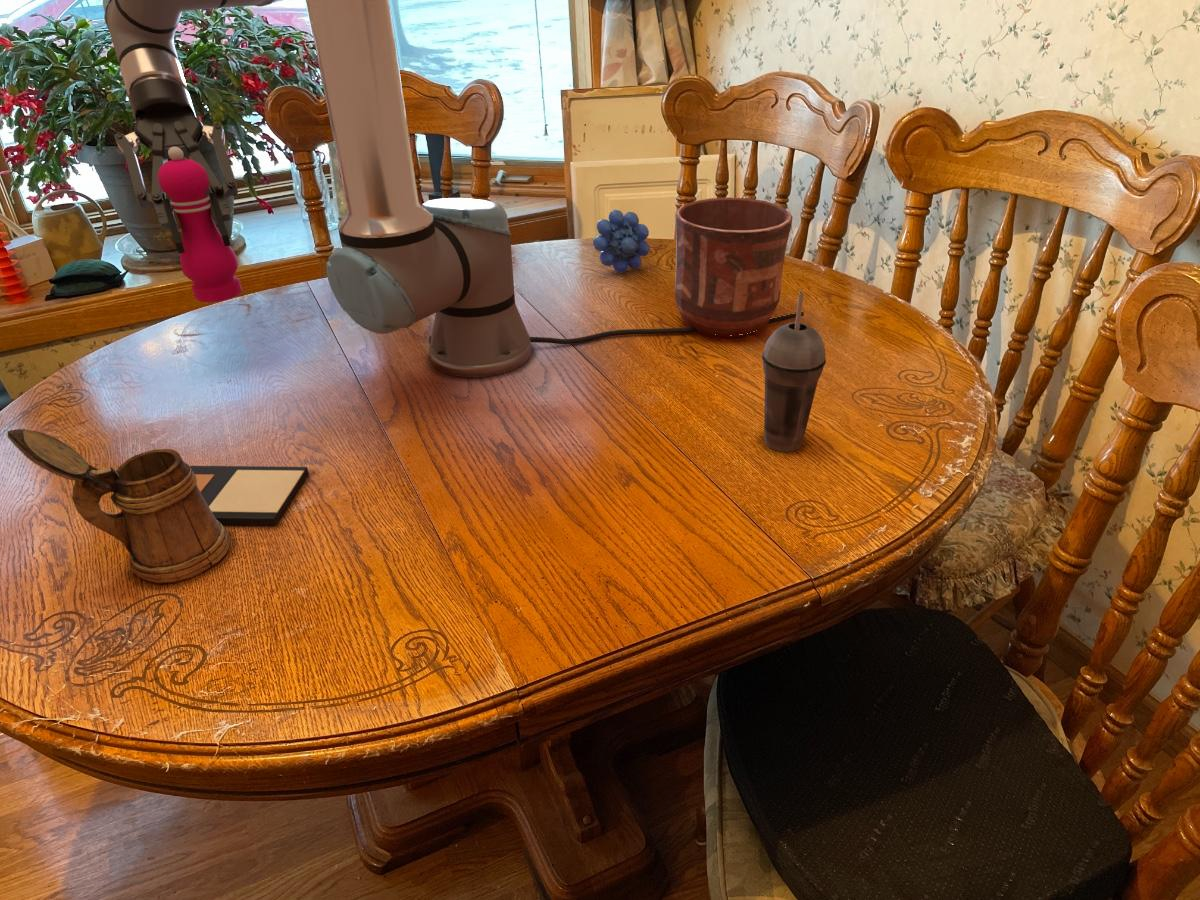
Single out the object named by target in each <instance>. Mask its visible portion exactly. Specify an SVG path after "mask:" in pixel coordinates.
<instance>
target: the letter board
mask: <svg viewBox="0 0 1200 900" xmlns="http://www.w3.org/2000/svg"><path fill="white" fill-rule="evenodd" d="M189 467H190V468H191V469H192V471H193V473H194V474H195V476H196V478H197V484H196V485H197V487H198V489H199V490H200V492H201V494H202V496H203V497H204V499H205V501H206V503H207V504H208V506H209V508H210V510H211V511H212V513H213V515H214V516H215V518H216V520H218V521H219V522H220V523H221V524H222V526H258V527H259V526H261V527H263V526H264V527H265V526H267V527H270V526H271V527H276V526H277V524H278V523H279V522H280V520H281V518H282V517H283V515H284V513H285V512H286V510H287V509H288V507H289V506H290V504H291V502H292V501H293V499H294V498H295V496H296V494H297V493H298V491H299V490H300V488H301V487H302V485H303V483H305V481H306V479H307V478H308V476H309V474H310V473H309V469H308V466H262V465H261V466H254V465H253V466H252V465H251V466H249V465H189Z"/></svg>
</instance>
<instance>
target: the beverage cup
mask: <svg viewBox="0 0 1200 900" xmlns="http://www.w3.org/2000/svg"><path fill="white" fill-rule="evenodd" d="M804 294H805V293H804V291H803V290H800V291H798V295H797V296H798V298H797V305H796V312H797V313H796V318H795V322H789V323H786V324H783V325H781V326H779V327H778V328H777V329H775V330H774V331H773V332H772V333H771V335H770V336H769V337H768V339H767V340H766V342H765V345H764V348H763V351H762V353H761V359H762V368H763V374H764V411H763V412H764V417H763V418H764V420H763V421H764V423H763V425H764V426H763V432H764V443H765V445H766V446H767V447H768V448H769V449H772V450H774V451H776V452H782V453H783V452H784V453H790V452H794V451H797V450H799V449H800V448H801V447H802V445H803V441H804V437H805V435H806V431H807V427H808V423H809V420H810V414H811V411H812V407H813V404H814V399H815V395H816V390H817V387H818V383H819V379H820V378H821V376H822V374H823V370H824V367H825V366H826V364H827V360H826V359H827V358H826V347H825V342H824V340H823V338H822V336H821V335H820V334H819V332H818V331H817V330H816V329H814V327H812V326H811V325H808V324H806V323H803V322H801V319H802V316H801V311H803V310H802V309H803V302H804Z"/></svg>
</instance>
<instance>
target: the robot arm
mask: <svg viewBox="0 0 1200 900" xmlns="http://www.w3.org/2000/svg"><path fill="white" fill-rule="evenodd" d="M281 2H283V0H102V7H103V11H104V12H103V13H104V14H103V16H104V17H103V18H104V23H105V24H106V28H107V30H108V32H109V34H110V38H111V42H112V45H113V48H114V53H115V56H116V58H117V62H118V65H119V69H120V73H121V77H122V80H123V83H124V87H125V91H126V93H127V95H128V100H129V103H130V107H131V111H132V114H133V118H134V120H135V121H134V122H135V125H134V128H133V131H132V132H130V133H128V134H123V133H121V132H117V133H115V134H114V140H115V143H116V144H117V146H118V149H119V151H120V152H121V153H122V155H123V156H124V159H125V162H126V166H127V170H128V174H129V177H130V182H131V186H132V189H133V192H134V195H135V198H136V200H137V203H138V205H139V207H141V208H143V209H146V208H153V209H154V210H155V214H156V218H157V220H158V224H159V226H160V227H161V229H162V230H164V231H166V230H170V231H171V236H172V239H173V242H174V245H175V247H176V250H177V253H178V254H179V255H180V253H185V251H184V248H183V244H182V236H181V235H180V230H179V227H178V224H177V220H176V217H175V214H174V213H175V212H173V211H172V206H171V204H170V202H169V201H170V198H166V197H167V194H166V193H164V192H163V191H162V189H161V187H160V185H159V182H158V172H159V169H160V167H161V166H162V165H163V164H164V163H166V162H168V161H169V160H171V158H170V157H169V155H168V150H169V149H170V148H171V147H178V148H180V149H181V150H182V151H183V154H184V157H183V158H186V157H187V159H190V160H193V161H195V162H197V163H199V164H200V165H201V166H202V167H203V168H204V169H205V171H206V172H207V174H208V177H209V181H210V184H209V187H208V190H209V191H210V192H209V193H208V195H209V196H210V202H211V203H212V209H213V213H214V216H215V219H216V222H217V225H218V228H219V229H218V230H219V232H220V234H221V236H222V239H223V242H224V245H225V246H230V247H232V246H231V241H230V237H229V234H228V231H227V227H226V224H225V222H227V221H232V213H231V209H230V205H229V203H228V198H230V197H236V196H238V194H239V189H238V185H237V180H236V177H235V175H234V172H233V168H232V165H231V163H230V162H231V161H230V160H229V159H230V158H229V156H228V153H227V149H226V147H225V143H226V135H225V131H224V126H223V124H221V123H219V122H217V123H214V124H213V126H212V125H206V124H203V122H201V120H200V119H198V118H197V115H196V112H195V108H194V106H193V102H192V98H191V95H190V93H189V90H188V85H187V83H186V79H185V77H184V73H183V69H182V66H181V63H180V60H179V57H178V53H177V50H176V46H175V34H176V31H177V28H178V27H179V23H180V20H181V16H182V13H183V12H187V11H199V10H200V11H201V10H213V9H223V8H237V7H239V8H240V7H260V8H261V7H265V6H270V5H274V4H278V3H281ZM305 3H306V9H307V13H308V19H309V23H310V28H311V29H310V30H311V33H312V34H311V35H312V39H313V43H314V48H315V54H316V59H317V63H318V69H319V73H320V79H321V84H322V88H323V94H324V98H325V99H324V100H325V104H326V109H327V114H328V120H329V124H330V129H331V135H332V139H333V145H334V149H335V155H336V159H337V164H338V169H339V175H340V180H341V184H342V189H343V194H344V201H345V204H346V212H345V213H344V215H343V216H342V217H341V219H340V220H339V222H338V223H337V230H338V236H339V241H340V244H341V247H338V248H336V249H335V250H334V251H333V252H332V253H330V255H329V257H328V261H327V262H326V277H327V281H328V283H329V287H330V289H331V292H332V294H333V296H334V298H335V300H336V301H337V303H338V305H339V306H340V307H341V309H342V310H343V311H344V312H345V313H346V314H347V315H348V317H350V319H351V320H352V321H353V322H354V323H356V324H357V325H359V326H360V327H362V328H363V329H365V330H366V331H369V332H372V333H373V334H378V335H379V334H380V335H386V334H391V333H393V332H396V331H398V330H401V329H406V328H407V329H408V328H410V327H412V326H413V325H414V324H415V323H418V322H419V321H422V320H423V319H426V318H428V317H430V316H432V315H434V320H433V326H432V331H431V335H430V336H429V337H428V345H429V346H428V352H429V358H430V363H431V364H432V366H433V368H435V369H436V370H438V371H440V372H442V373H444V374H447V375H449V376H454V377H459V378H460V377H462V378H486V377H492V376H497V375H502V374H505V373H508V372H511V371H513V370H515V369H517V368H520V367H521V366H523V365H524V364H526V362H527V361H528V360H529V359H530V357H531V355H532V343H541V344H554V345H576V344H582V343H587V342H591V341H596V340H599V339H604V338H609V337H616V336H630V335H667V334H668V335H669V334H670V335H671V334H692V333H693V334H694V333H699V332H698V331H697V330H696V329H695V328H693V327H691V326H690V327H687V326H686V327H669V328H668V327H667V328H666V327H665V328H630V329H629V328H628V329H627V328H626V329H615V330H607V331H602V332H597V333H593V334H588V335H585V336H580V337H573V338H558V337H547V336H546V337H545V336H530V335H529V332H528V330H527V327H526V325H525V323H524V321H523V319H522V316H521V314H520V311H519V309H518V307H517V303H516V296H515V295H516V294H515V282H514V281H515V280H514V269H513V255H512V253H513V252H512V243H511V241H512V240H511V236H512V232H511V231H510V226H509V218H508V214H507V211H506V210H505V208H504V207H503V206H502V205H500V204H498V203H496V202H493V201H489V200H485V199H477V198H466V197H465V198H463V197H448V198H435V199H431V200H430V199H429V200H427V201H424V203H422V205H421V204H420V202H419V201H420V200H419V195H418V187H417V181H416V175H415V169H414V168H415V167H414V162H413V154H412V149H411V142H410V141H411V140H410V135H409V128H408V121H407V115H406V107H405V101H404V95H403V94H404V93H403V88H402V81H401V74H400V68H399V67H400V66H399V61H398V59H399V58H398V54H397V47H396V41H395V40H396V39H395V33H394V32H395V31H394V25H393V21H392V20H393V19H392V14H391V7H390V0H305ZM203 137H206V138H207V142H209V143H210V144H211V145H213V148H214V151H215V154H216V158H217V161H218V164H219V167H220V171H221V174H222V176H223V180H224V182H223V183H221V182H220V180H219V179H218V177H217V176H216V174H215V172H214V170H213V169H212V168H211V167H210V164H209V163H208V161H207V160H206V159H205V157H204V155H203V154H202V153H201V150H200V149H199V147H198V146H199V144H200V142H201V140H202V139H203ZM139 143H141V144H142V145H143V146H145V147H146V148H148V150H150V151H151V153H152V167H151V168H152V169H151V191H150V192H147V190H146V185H145V182H144V178H143V175H142V171H141V167H140V162H139V160H138V157H137V155H136V154H137V153H138V150H139V147H138V144H139ZM168 159H169V160H168ZM796 312H797V311H796ZM796 312H794V313H795V314H791V313H789V314H790V315H787V314H788V313H786V314H785V315H786V316H782V315H780V316H781V317H777V316H776V317H777V318H772V317H771V318H772V319H770V320H769V321H768V323H767V324H766V325H768V324H773V323H777V322H778V323H779V322H783V321H787V320H791V319H796ZM804 315H805V314H804V311H803V312H801V317H804Z"/></svg>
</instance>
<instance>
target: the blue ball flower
mask: <svg viewBox="0 0 1200 900" xmlns="http://www.w3.org/2000/svg"><path fill="white" fill-rule="evenodd" d="M596 230H597V232H598V234H597V235H596V236H595V237H594V238H593V240H592V245H593V247H594V249H595V250H596V251H597V252H600V254H599V261H600V262H601V264H602V266H605V267H611V266H612V267H613V269H614V271H616V272H617V273H621V274H624V273H625V272H627V270H628V269H629V268H631V269H632V270H633V269H634V270H637V269H639V268H640V266H642V262H643V260H642V258H641V257H646V256H648V255H649V253H650V251H651V247H650V244H649V243H648V242H647V241H646V240H647V239H648V237H649V235H650V232H649V229H648V226H647V225H645V224H644V223H640V219H639V217H638V214H636V213H635V212H634V211H627V212H626V213H625V214H624V213H623V212H622V211H621V210H620V209H613V210H611V211H610V212H609V214H608V219H607V218H606V219H605V218H601V219H599V220H598V221H597V224H596Z"/></svg>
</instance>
